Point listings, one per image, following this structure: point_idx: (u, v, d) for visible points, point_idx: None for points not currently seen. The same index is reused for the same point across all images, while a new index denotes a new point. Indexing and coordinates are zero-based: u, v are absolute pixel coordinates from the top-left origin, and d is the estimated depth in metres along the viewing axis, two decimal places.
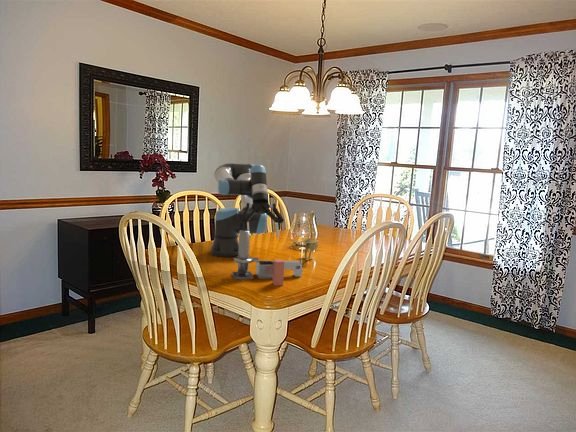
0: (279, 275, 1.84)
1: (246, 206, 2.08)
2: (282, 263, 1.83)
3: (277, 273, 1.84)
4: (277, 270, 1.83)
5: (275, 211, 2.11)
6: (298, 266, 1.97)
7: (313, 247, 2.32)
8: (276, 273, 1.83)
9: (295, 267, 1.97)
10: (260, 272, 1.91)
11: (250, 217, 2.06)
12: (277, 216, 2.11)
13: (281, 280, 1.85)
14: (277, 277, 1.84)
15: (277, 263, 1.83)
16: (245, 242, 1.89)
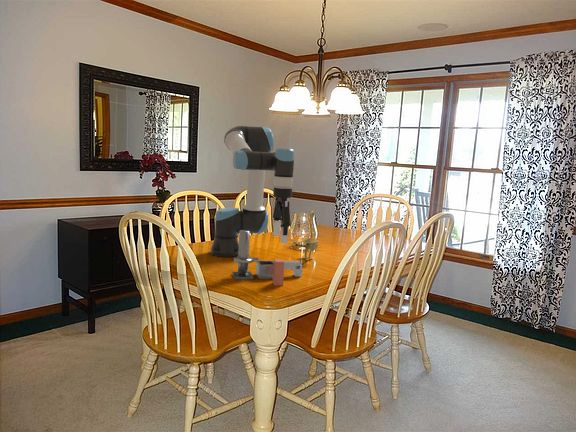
0: (279, 275, 1.84)
1: (288, 206, 1.75)
2: (282, 263, 1.83)
3: (277, 273, 1.84)
4: (277, 270, 1.83)
5: None
6: (298, 266, 1.97)
7: (313, 247, 2.32)
8: (276, 273, 1.83)
9: (295, 267, 1.97)
10: (260, 272, 1.91)
11: None
12: None
13: (281, 280, 1.85)
14: (277, 277, 1.84)
15: (277, 263, 1.83)
16: (245, 242, 1.89)
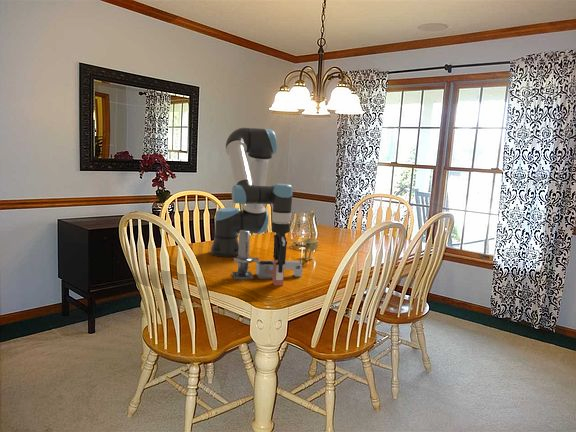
0: None
1: (285, 246, 1.78)
2: None
3: None
4: None
5: None
6: (298, 266, 1.97)
7: (313, 247, 2.32)
8: None
9: (295, 267, 1.97)
10: (260, 272, 1.91)
11: None
12: None
13: (281, 280, 1.85)
14: None
15: None
16: (245, 242, 1.89)
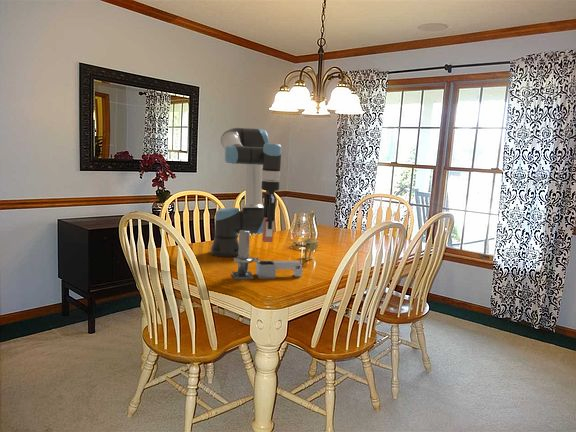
0: None
1: (275, 202, 1.85)
2: None
3: None
4: None
5: None
6: (298, 266, 1.97)
7: (313, 247, 2.32)
8: None
9: (295, 267, 1.97)
10: (260, 272, 1.91)
11: None
12: None
13: (271, 237, 1.92)
14: None
15: None
16: (245, 242, 1.89)
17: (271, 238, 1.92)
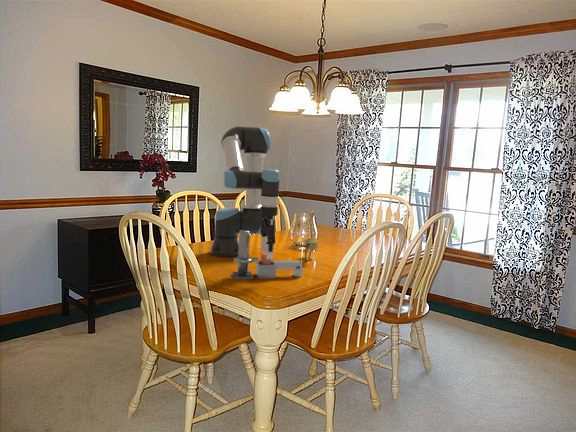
0: None
1: (274, 224, 1.86)
2: None
3: None
4: (264, 262, 1.93)
5: None
6: (298, 266, 1.97)
7: (313, 247, 2.32)
8: None
9: (295, 267, 1.97)
10: (260, 272, 1.91)
11: None
12: None
13: None
14: None
15: (265, 256, 1.93)
16: (245, 242, 1.89)
17: None
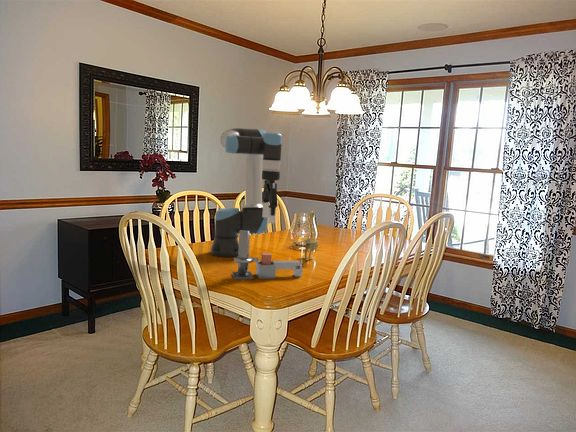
0: None
1: (276, 188, 1.84)
2: (269, 256, 1.93)
3: None
4: (264, 262, 1.93)
5: None
6: (298, 266, 1.97)
7: (313, 247, 2.32)
8: None
9: (295, 267, 1.97)
10: (260, 272, 1.91)
11: None
12: None
13: None
14: None
15: (264, 256, 1.93)
16: (245, 242, 1.89)
17: None
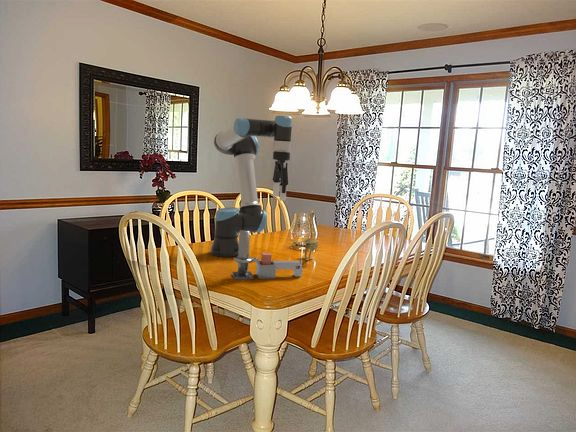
0: None
1: (286, 167, 1.95)
2: (269, 256, 1.93)
3: None
4: (264, 262, 1.93)
5: None
6: (298, 266, 1.97)
7: (313, 247, 2.32)
8: None
9: (295, 267, 1.97)
10: (260, 272, 1.91)
11: None
12: None
13: None
14: None
15: (264, 256, 1.93)
16: (245, 242, 1.89)
17: None
